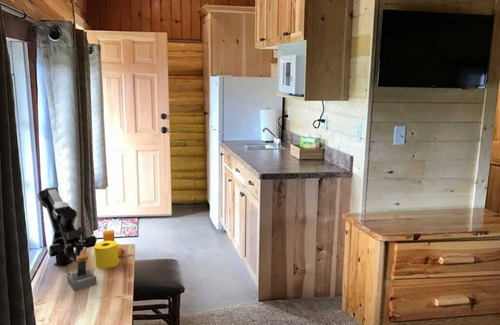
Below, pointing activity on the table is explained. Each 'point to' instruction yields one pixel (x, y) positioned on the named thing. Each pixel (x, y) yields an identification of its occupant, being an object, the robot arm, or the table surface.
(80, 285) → the box
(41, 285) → the table surface
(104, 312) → the table surface
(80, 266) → the breaker lever
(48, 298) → the table surface
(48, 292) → the table surface
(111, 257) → the tape roll
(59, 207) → the robot arm
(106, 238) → the bracket
